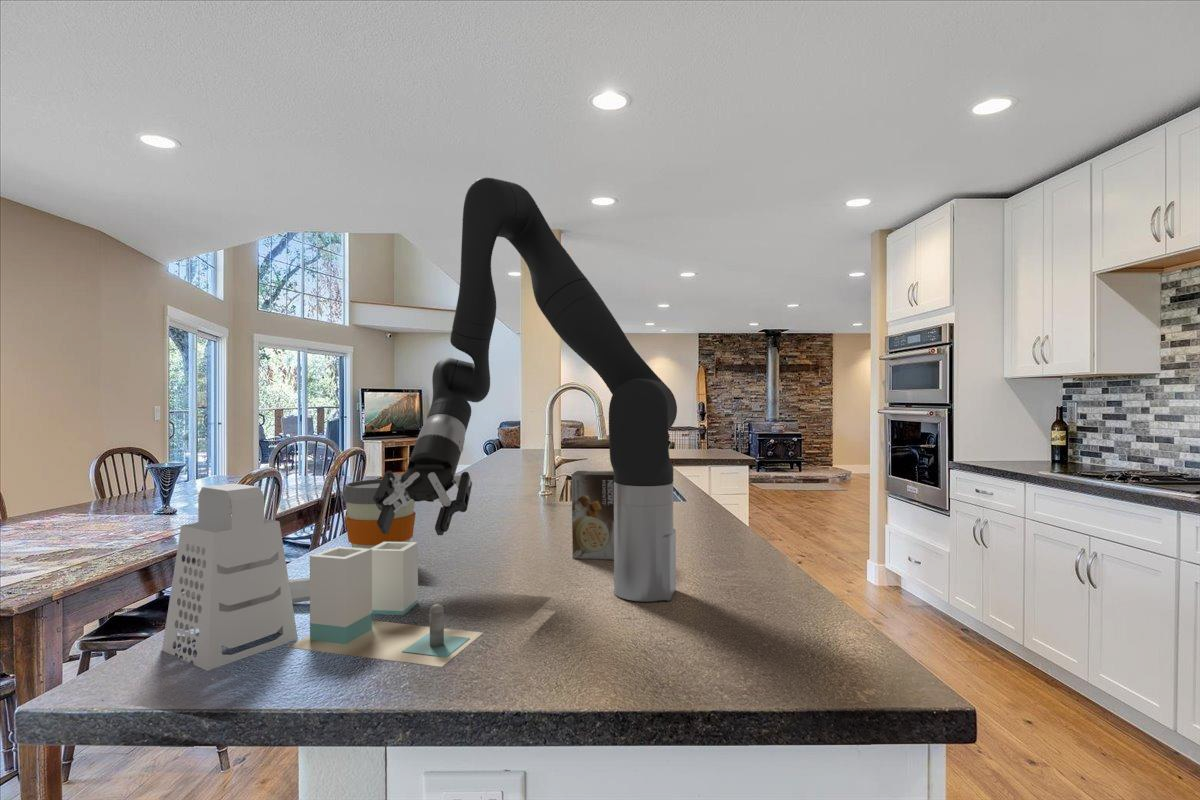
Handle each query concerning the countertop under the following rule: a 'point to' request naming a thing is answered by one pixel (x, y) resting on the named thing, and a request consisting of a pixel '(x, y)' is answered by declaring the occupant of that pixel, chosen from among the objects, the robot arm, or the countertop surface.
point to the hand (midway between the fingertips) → (410, 531)
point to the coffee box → (593, 514)
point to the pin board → (402, 642)
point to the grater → (229, 579)
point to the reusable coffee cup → (374, 516)
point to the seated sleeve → (340, 594)
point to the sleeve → (394, 577)
